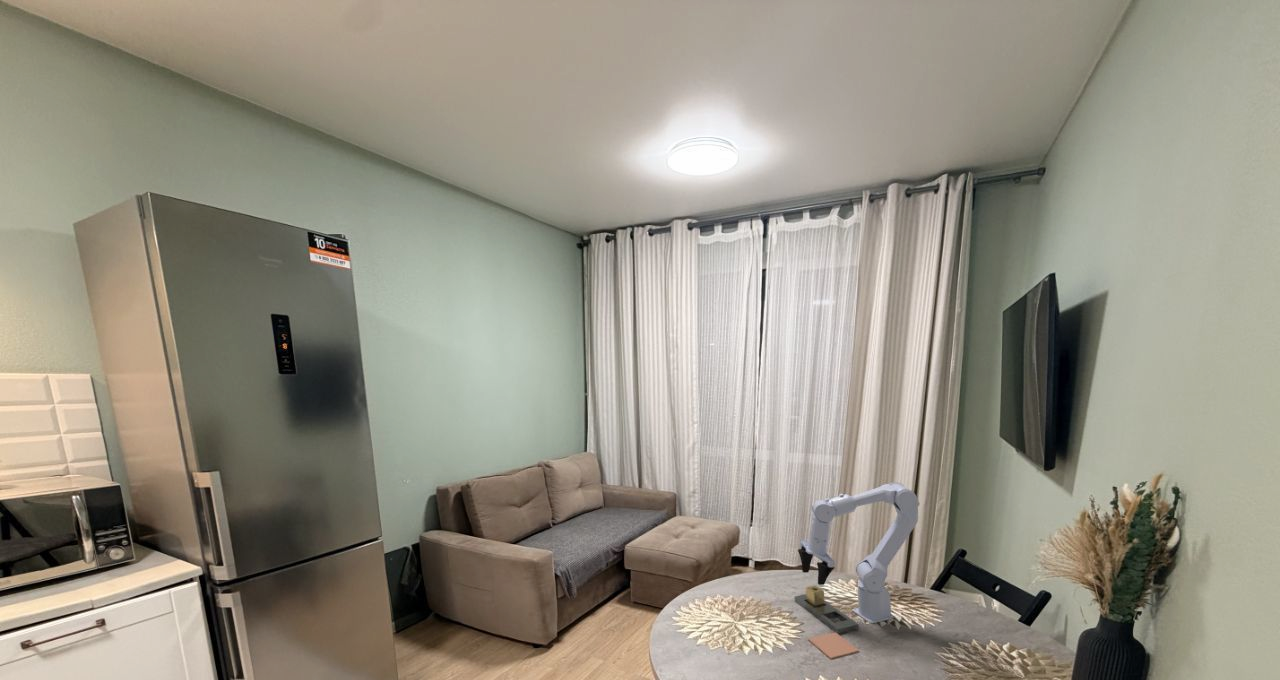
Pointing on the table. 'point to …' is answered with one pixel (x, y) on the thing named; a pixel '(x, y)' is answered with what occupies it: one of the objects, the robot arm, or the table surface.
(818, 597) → the cube with round inset
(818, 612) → the metal rail
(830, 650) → the terracotta mat
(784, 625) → the table surface
